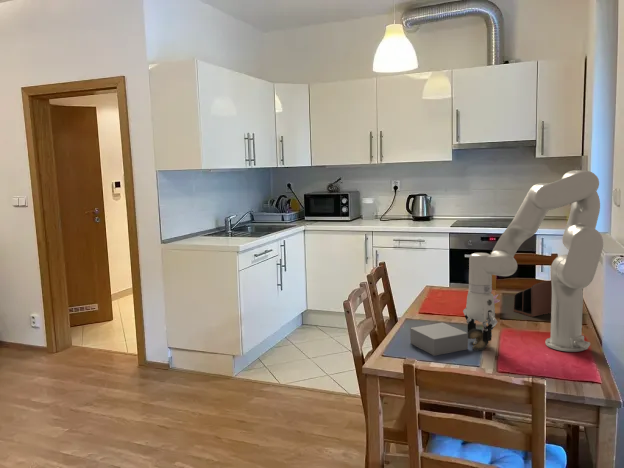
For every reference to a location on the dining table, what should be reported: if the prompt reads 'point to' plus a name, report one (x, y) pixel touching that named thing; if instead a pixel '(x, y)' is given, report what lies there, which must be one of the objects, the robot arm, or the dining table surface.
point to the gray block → (439, 338)
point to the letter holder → (534, 300)
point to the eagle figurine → (477, 339)
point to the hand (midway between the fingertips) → (479, 337)
